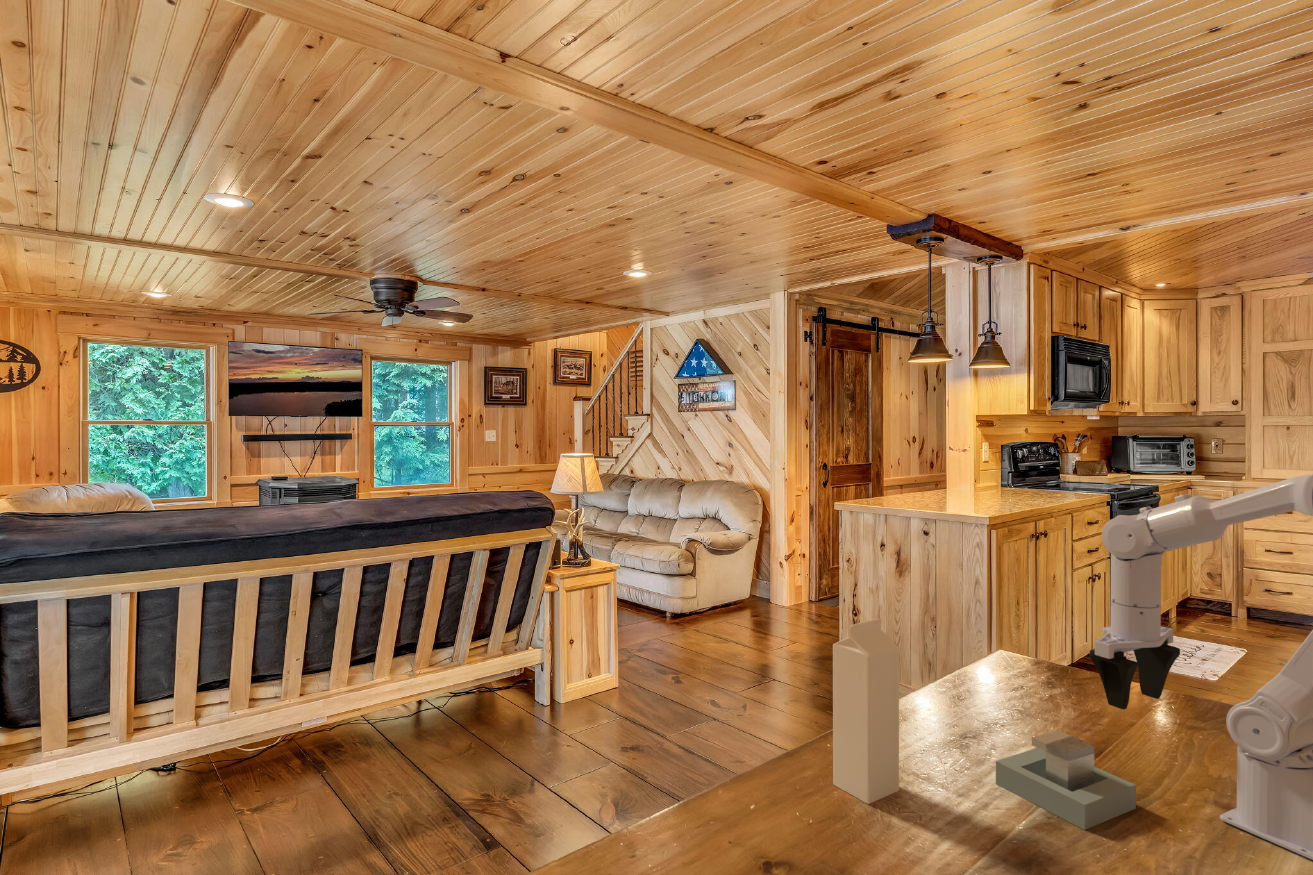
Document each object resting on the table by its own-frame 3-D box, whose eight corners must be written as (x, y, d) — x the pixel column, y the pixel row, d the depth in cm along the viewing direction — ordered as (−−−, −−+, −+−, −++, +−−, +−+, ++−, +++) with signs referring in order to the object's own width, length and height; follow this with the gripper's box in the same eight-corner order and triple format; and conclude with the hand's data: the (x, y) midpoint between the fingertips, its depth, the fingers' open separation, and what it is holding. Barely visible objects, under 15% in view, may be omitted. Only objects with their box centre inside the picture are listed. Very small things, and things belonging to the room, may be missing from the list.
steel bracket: (1094, 800, 90) (1094, 745, 90) (1067, 809, 88) (1068, 753, 88) (1057, 782, 95) (1057, 729, 95) (1031, 790, 93) (1031, 737, 92)
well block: (1135, 808, 88) (1135, 784, 88) (1084, 829, 84) (1084, 804, 84) (1045, 766, 99) (1045, 744, 99) (995, 783, 94) (995, 761, 94)
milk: (899, 791, 93) (901, 623, 92) (867, 805, 90) (869, 631, 89) (862, 772, 98) (863, 612, 97) (831, 784, 95) (832, 619, 94)
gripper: (1136, 590, 104) (1135, 682, 104) (1073, 602, 98) (1072, 700, 98) (1190, 601, 98) (1189, 699, 98) (1126, 615, 91) (1125, 719, 92)
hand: (1134, 701), depth 98 cm, fingers open, 7 cm apart
